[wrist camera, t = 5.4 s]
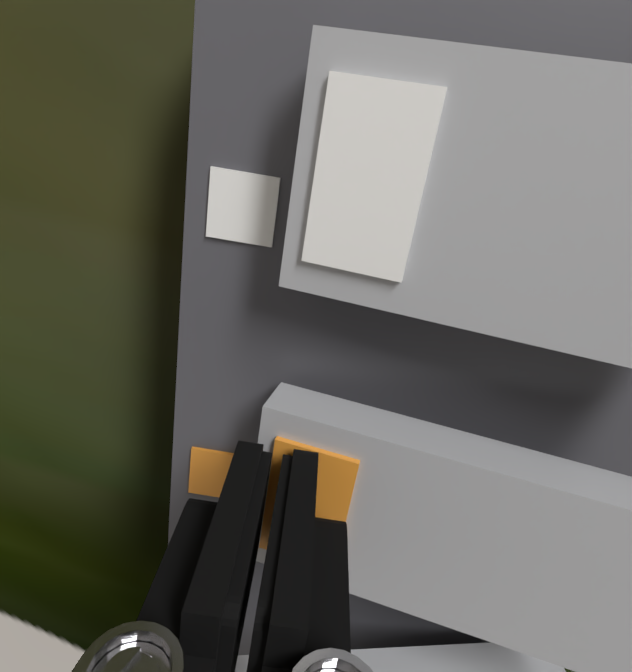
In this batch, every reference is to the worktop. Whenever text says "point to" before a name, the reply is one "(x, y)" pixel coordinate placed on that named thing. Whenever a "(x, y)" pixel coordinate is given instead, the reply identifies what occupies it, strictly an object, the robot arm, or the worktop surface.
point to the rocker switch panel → (343, 317)
